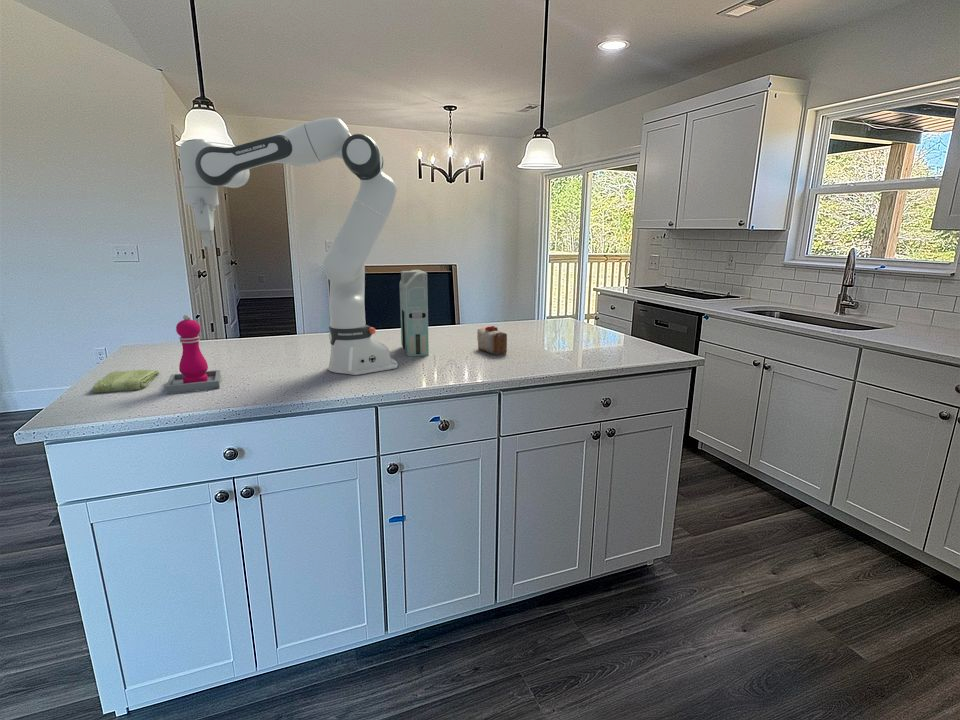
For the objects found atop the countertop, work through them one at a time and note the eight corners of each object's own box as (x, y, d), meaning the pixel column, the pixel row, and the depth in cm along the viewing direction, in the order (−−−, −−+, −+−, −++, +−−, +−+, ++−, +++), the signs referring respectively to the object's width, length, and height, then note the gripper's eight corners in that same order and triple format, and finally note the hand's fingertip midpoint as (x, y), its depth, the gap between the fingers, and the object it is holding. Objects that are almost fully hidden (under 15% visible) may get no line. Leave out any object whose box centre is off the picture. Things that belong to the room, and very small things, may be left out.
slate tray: (220, 376, 153) (220, 369, 152) (219, 388, 142) (218, 380, 141) (172, 381, 148) (171, 374, 147) (166, 394, 136) (165, 386, 136)
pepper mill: (197, 386, 140) (187, 316, 135) (175, 384, 142) (165, 315, 137) (215, 379, 147) (206, 312, 142) (194, 377, 149) (185, 311, 144)
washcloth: (161, 375, 156) (160, 365, 155) (144, 391, 140) (142, 381, 139) (112, 378, 152) (110, 368, 151) (88, 396, 136) (86, 384, 135)
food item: (474, 348, 193) (474, 323, 191) (491, 346, 197) (492, 322, 195) (492, 356, 182) (492, 329, 179) (510, 353, 186) (511, 328, 183)
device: (401, 347, 195) (399, 269, 187) (420, 346, 197) (419, 269, 189) (407, 356, 179) (405, 273, 172) (428, 355, 182) (427, 273, 174)
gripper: (212, 197, 139) (218, 247, 143) (215, 200, 157) (220, 245, 161) (186, 196, 137) (193, 247, 140) (192, 200, 155) (198, 245, 158)
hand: (207, 246), depth 150 cm, fingers open, 8 cm apart
